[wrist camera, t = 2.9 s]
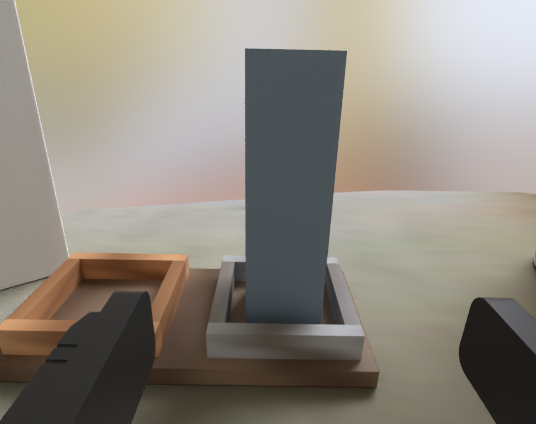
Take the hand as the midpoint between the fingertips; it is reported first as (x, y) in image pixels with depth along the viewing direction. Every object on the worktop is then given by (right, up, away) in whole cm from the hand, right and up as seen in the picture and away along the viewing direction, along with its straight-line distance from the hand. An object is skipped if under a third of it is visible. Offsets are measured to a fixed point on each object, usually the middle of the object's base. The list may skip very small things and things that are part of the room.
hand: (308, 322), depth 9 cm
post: (0, -3, +12) cm, 13 cm away
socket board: (-5, -4, +13) cm, 14 cm away
